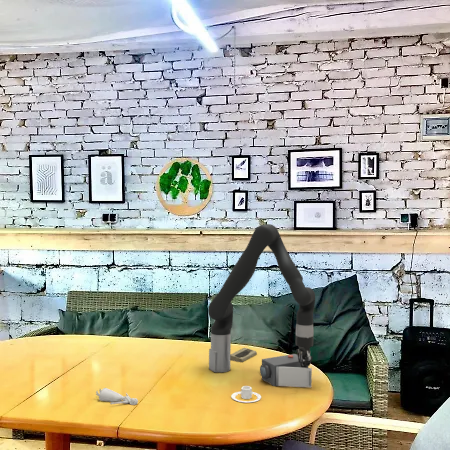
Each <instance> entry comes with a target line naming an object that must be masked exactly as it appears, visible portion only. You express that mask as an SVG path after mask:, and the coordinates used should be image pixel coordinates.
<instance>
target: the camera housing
mask: <svg viewBox="0 0 450 450" xmlns="http://www.w3.org/2000/svg"><path fill="white" fill-rule="evenodd" d="M276 366H278V367H300V368H301V365H300V362H299V360H298V355H297V353H292V354H287V355H279V356H273V357H266V358H261V365H260V366H259V373H260V376H261V380H263V381H264V382H266V383H267V384H270V386H273V387H277V386H276ZM307 368H309V366H307Z"/></svg>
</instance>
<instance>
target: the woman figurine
mask: <svg viewBox="0 0 450 450" xmlns="http://www.w3.org/2000/svg"><path fill="white" fill-rule="evenodd" d="M95 395H96V396H98V399H99V401H101V402H109V403H110V404H109V405H115V404H130V405H131V406H134V405H135V406H136V405H138V402H139V400H138V398H136V397H135V398H134V397H132V398H131V397H130V396H129V394H128V393H127V392H125V396H123V394H120V393H118V392H116V391H114V390H112V389H109V388H107V387H104V388H102V389H101V388H99V392H98V390H96V392H95Z"/></svg>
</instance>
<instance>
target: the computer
mask: <svg viewBox="0 0 450 450" xmlns="http://www.w3.org/2000/svg"><path fill="white" fill-rule="evenodd" d="M256 355H257V350H254V349H250V348H247V347H243V348H241V349H239V350H237V351H234V352H233V353H230V362H231V361H232V362H237V363H243V362H246V361H247V360H249V359H251V358H252V357H255V356H256Z"/></svg>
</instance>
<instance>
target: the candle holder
mask: <svg viewBox="0 0 450 450" xmlns="http://www.w3.org/2000/svg"><path fill="white" fill-rule="evenodd" d="M252 388H253V387H251V386H249V385H243V386H242V387H241V389H240V391H235V392H234V393H232V394H231V399H232V400H234V401H236V402H239V403H246V404H247V403H255V402H258V401H260V400H261V399H262V396H261V394H260V393H257V392H254V391H253V389H252ZM238 394H239V395H240V396H241V399H244V400H241V399H240V400H239V399H237V398H236V397H237V396H239V395H238ZM253 394H254V395H253ZM255 395H256V399H255V400H250V398H251V399H252V397H253V396H255ZM245 400H248V401H245Z"/></svg>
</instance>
